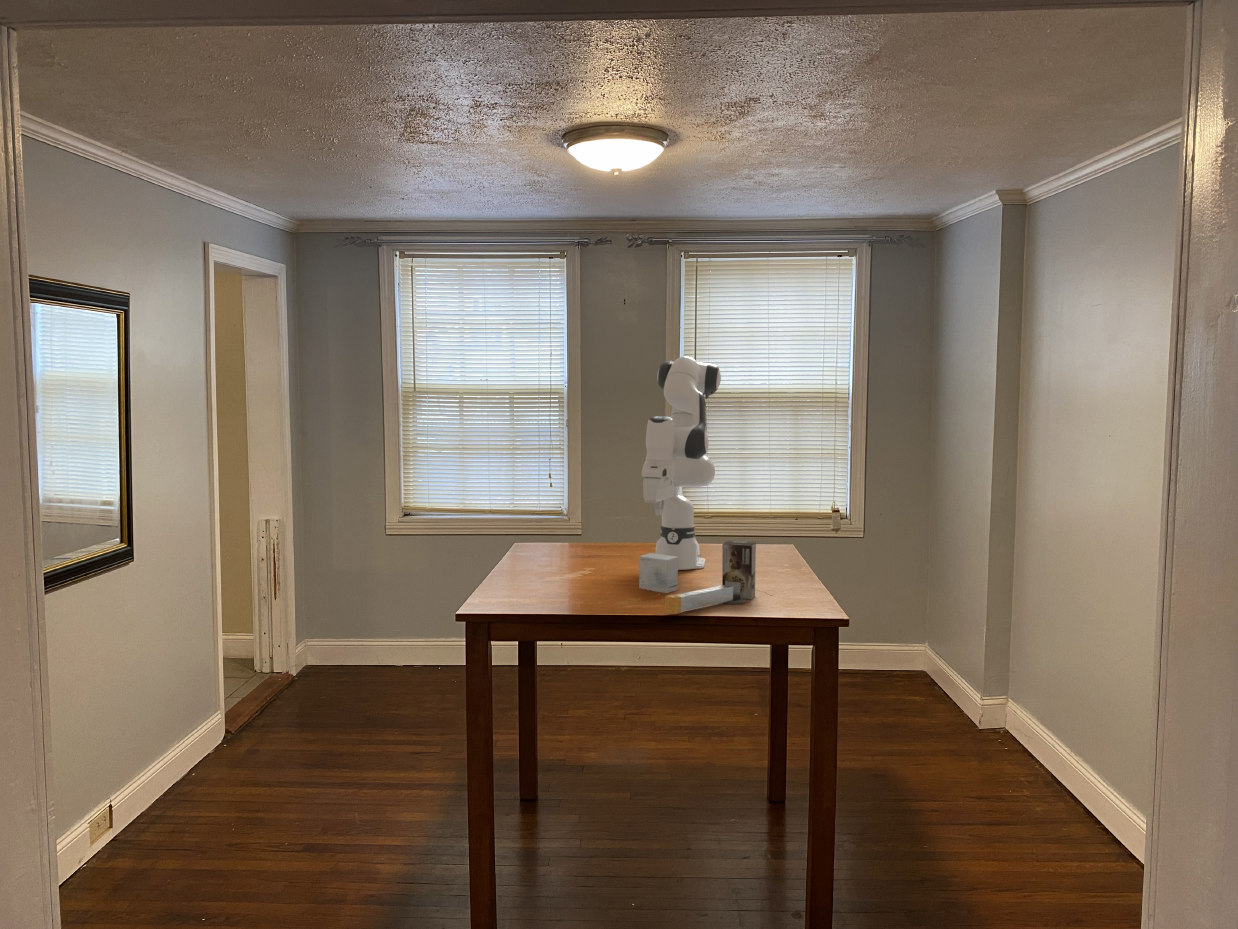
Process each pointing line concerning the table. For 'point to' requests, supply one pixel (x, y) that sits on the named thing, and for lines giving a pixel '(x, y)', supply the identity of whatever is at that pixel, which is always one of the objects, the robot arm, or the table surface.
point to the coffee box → (740, 565)
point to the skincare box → (658, 573)
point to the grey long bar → (703, 597)
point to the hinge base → (735, 602)
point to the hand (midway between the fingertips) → (659, 514)
